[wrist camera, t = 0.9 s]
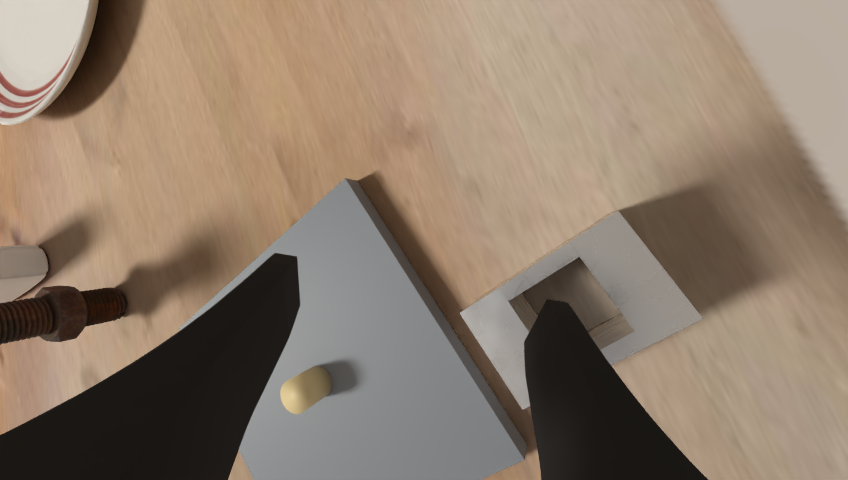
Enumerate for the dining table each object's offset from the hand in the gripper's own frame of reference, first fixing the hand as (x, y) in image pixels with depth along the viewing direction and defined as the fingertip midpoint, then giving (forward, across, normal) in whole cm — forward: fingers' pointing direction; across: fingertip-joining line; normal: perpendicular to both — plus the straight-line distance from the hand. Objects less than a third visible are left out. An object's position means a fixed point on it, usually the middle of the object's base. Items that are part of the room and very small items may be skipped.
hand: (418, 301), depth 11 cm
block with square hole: (+8, -9, +6) cm, 14 cm away
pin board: (+8, +4, +18) cm, 20 cm away
